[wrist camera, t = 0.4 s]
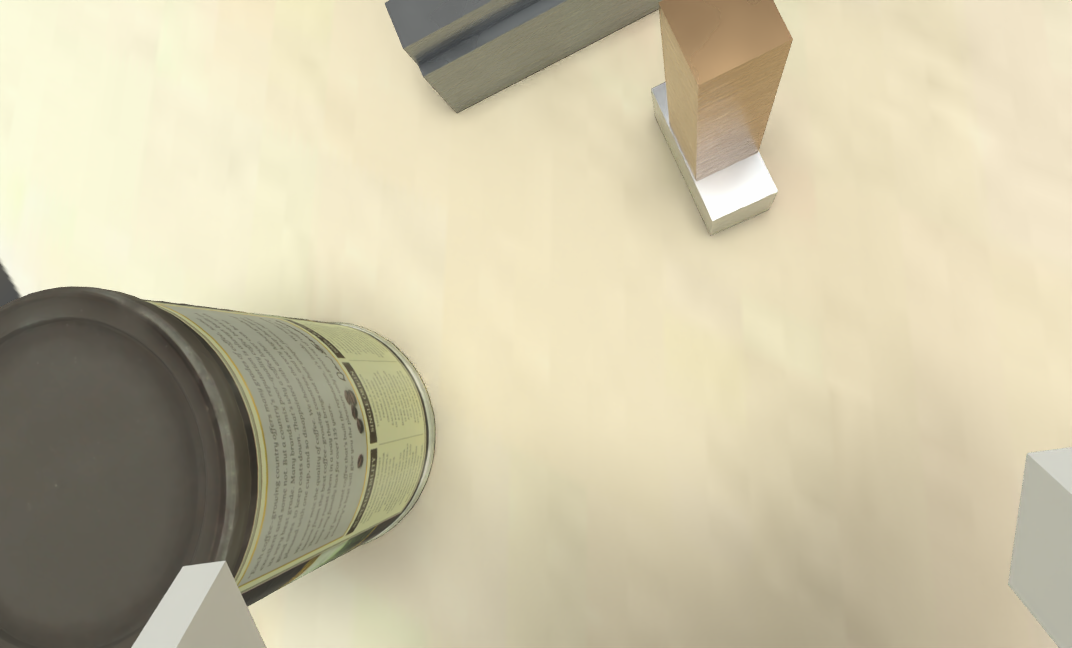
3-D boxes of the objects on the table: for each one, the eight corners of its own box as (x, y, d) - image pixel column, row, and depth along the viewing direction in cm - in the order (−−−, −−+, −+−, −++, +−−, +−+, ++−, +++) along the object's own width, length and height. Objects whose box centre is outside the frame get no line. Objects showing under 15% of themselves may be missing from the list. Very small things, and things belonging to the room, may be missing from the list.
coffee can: (344, 598, 31) (68, 782, 17) (192, 446, 33) (-161, 502, 19) (485, 420, 30) (312, 464, 16) (320, 276, 32) (44, 207, 19)
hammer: (768, 209, 28) (824, 96, 16) (710, 235, 28) (723, 143, 17) (711, 89, 29) (724, -101, 17) (655, 116, 29) (630, -51, 18)
